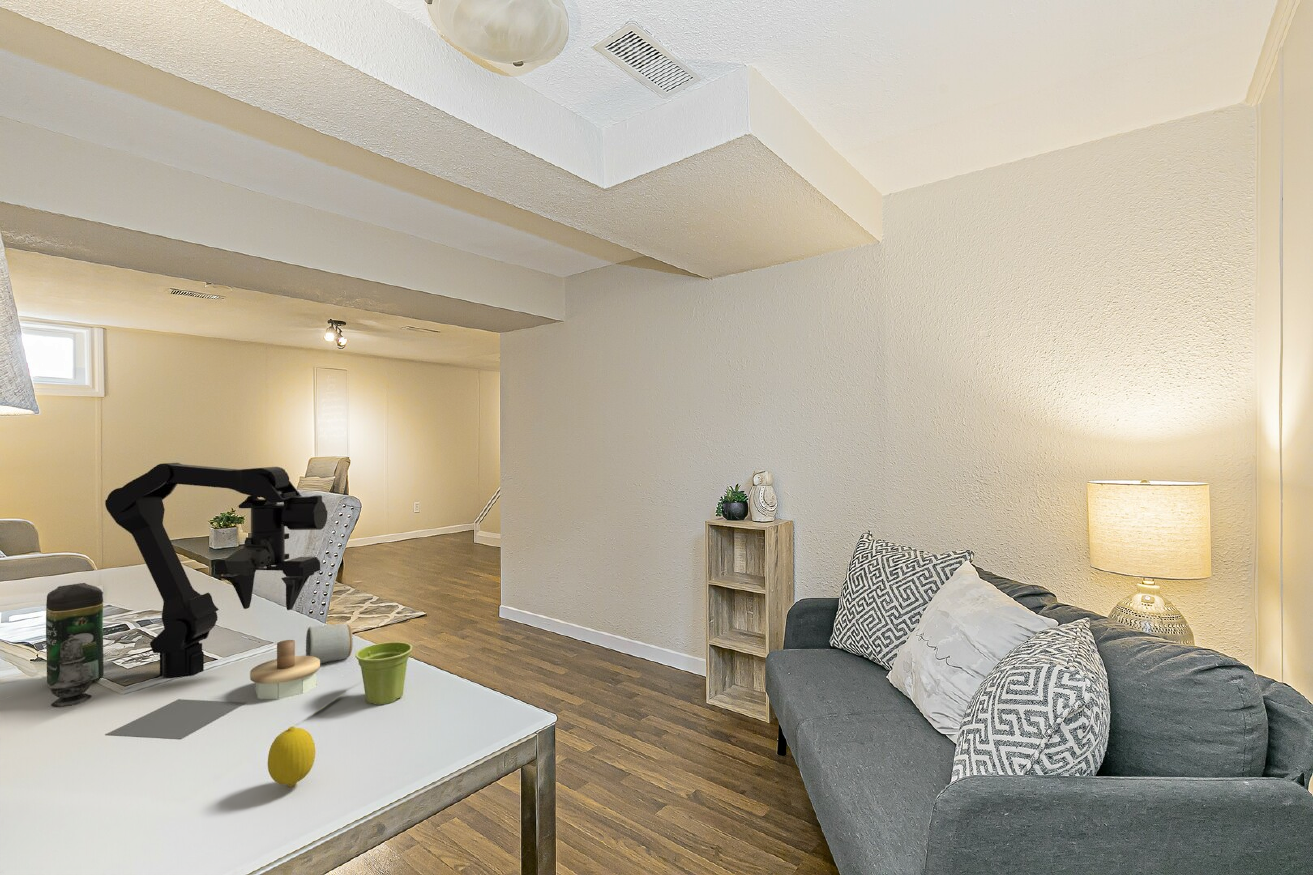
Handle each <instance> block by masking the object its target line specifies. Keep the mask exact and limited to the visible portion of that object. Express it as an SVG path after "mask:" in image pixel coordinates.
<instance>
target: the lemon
mask: <svg viewBox="0 0 1313 875" xmlns="http://www.w3.org/2000/svg"><path fill="white" fill-rule="evenodd" d="M314 741H315V740H314V739H313V736H312V734H311V733H310V732H309V731H307V729H304V728H301V727H296V726H290V727H289V726H288V728H287V729H285V730H284V731H283V732H280V733H279V734H278V735H277V736H276V737H275V738H274V740H273V742H272V743H271V745H270V748H269V751H268V756H267V769H268V773H269V776H270V777H271V779H272V780H273V781H274V782H275V783H278V784H279V785H283V786H288V787H289V788H292V787H294V786H296V785H297V783H299V782H300V781H302V780H303V779H305V777H307V775H309V773H310V772H311V769H312V768H313V766H314V763H315V759H316V746H315V742H314Z"/></svg>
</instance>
